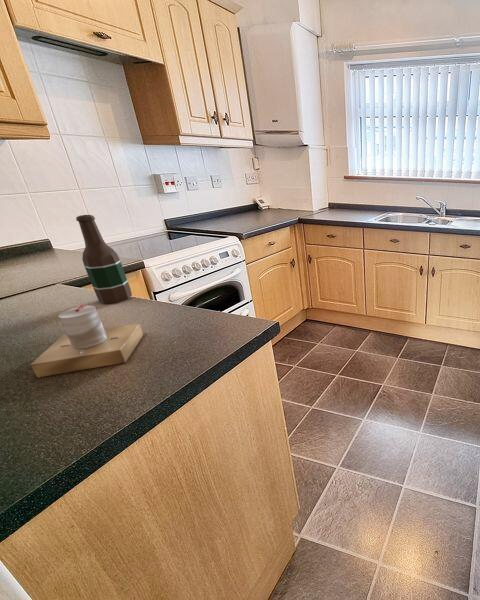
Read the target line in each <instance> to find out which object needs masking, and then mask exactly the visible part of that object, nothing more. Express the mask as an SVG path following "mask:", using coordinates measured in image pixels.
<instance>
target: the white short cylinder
mask: <svg viewBox="0 0 480 600" xmlns="http://www.w3.org/2000/svg"><path fill="white" fill-rule="evenodd" d="M57 317H58V319H59V321H60V323H61V326H62V327H63V330H64V331H65V334H67V336H68V338H69V340H70V343H71V345H72V347H73V348H76V349H82V348H88V347H92V346H95V345H98V344H100V343H102V342H104V341H105V340H106V339H107V334H106V332H105V330H104V329H105V327H104V325H103V323H102V320H101V318H100V316H99V313H98V310H97V308H96V306H94V305H86V304H80V305H79V306H77V307H73V308H69V309H67V310H66V309H65V310H63V311H61V312H60V313H59V314H58V315H57Z"/></svg>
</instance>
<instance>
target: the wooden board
mask: <svg viewBox="0 0 480 600" xmlns="http://www.w3.org/2000/svg"><path fill="white" fill-rule="evenodd" d="M104 330H105V332H106V334H107V339H106V340H105V341H104V342H102V343H100V344H98V345H95V346H92V347H88V348H82V349H76V348H73V347H72V345H71V343H70V340H69V338H68V336H67V334H66V333H64V334H62V335H61V336H59V338H58V339H56V340H55V341H54V342H53V343H52V344H51V345H50V346H49V347H48V348H47V349H46V350H44V352H42V353H41V354H40V355H39V356H38V357H37V358H36V359H34V361H33V362H31V363H30V366H31V368H32V370H33V372H34V374H35V376H36V377H37V378H42V377H49V376H54V375H61V374H66V373H71V372H77V371H83V370H90V369H95V368H100V367H107V366H113V365H117V364H118V365H119V364H124V363H126V362H127V361H128V359H129V358H130V356H131V355H132V353H133V352H134V350H135V349H136V347H137V346H138V344H139V342H140V341H141V340H142V338H143V336H144V333H143V330H142V327H141V325H140V323H134V324H127V325H120V326H114V327H107V328H104Z"/></svg>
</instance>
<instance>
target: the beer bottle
mask: <svg viewBox="0 0 480 600" xmlns="http://www.w3.org/2000/svg"><path fill="white" fill-rule="evenodd" d="M95 220H96V218H95V216H94V215H92V214H81V215H77V216H76V219H75V221H77V222H78V224H79V227H80V232H81V234H82V237H83V240H84V246H85V247H84V249H83V252H82V256H81V257H82V258H81V259H82V263H83V266H84V269H85V271H86V274H87V277H88V278H89V281H90V283H91V286H92V288H93V291H94V293H95V295H96V298H97V301H98V302H99V303H102V304H104V305H109V304H118V303H121V302H125V301H127V300H129V299H130V298H131V297H132V296H133V293H132V289H131V286H130V283H129V281H128V278H127V276H126V273H125V270H124V267H123V264H122V261H121V259H120V257H119V255H118V253H117V252H116V251H115V250H114V249H113V248H112V247H110V246H109V245H108V244H107V243H106V241H105V240H104V238H103V236H102V233H101V232H100V229H99V227H98V225H97V223H96V221H95Z"/></svg>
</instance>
